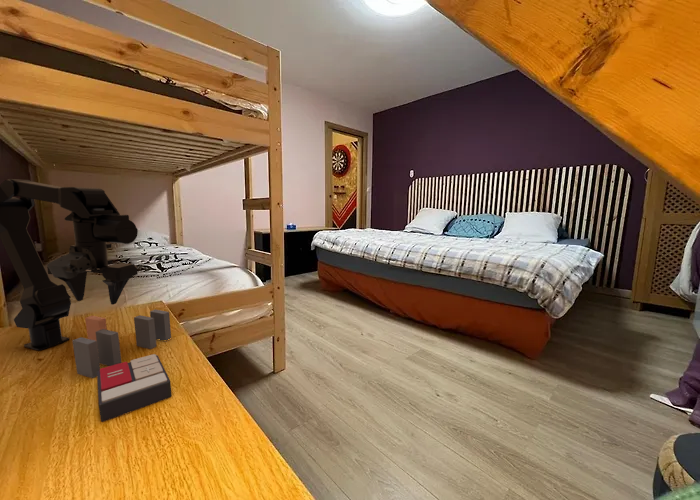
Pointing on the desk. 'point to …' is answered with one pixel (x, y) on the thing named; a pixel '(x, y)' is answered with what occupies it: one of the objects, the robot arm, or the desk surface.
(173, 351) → the desk surface
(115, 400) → the calculator
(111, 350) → the domino
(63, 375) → the desk surface
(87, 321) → the domino
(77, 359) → the domino
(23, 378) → the desk surface
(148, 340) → the domino
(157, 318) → the domino
